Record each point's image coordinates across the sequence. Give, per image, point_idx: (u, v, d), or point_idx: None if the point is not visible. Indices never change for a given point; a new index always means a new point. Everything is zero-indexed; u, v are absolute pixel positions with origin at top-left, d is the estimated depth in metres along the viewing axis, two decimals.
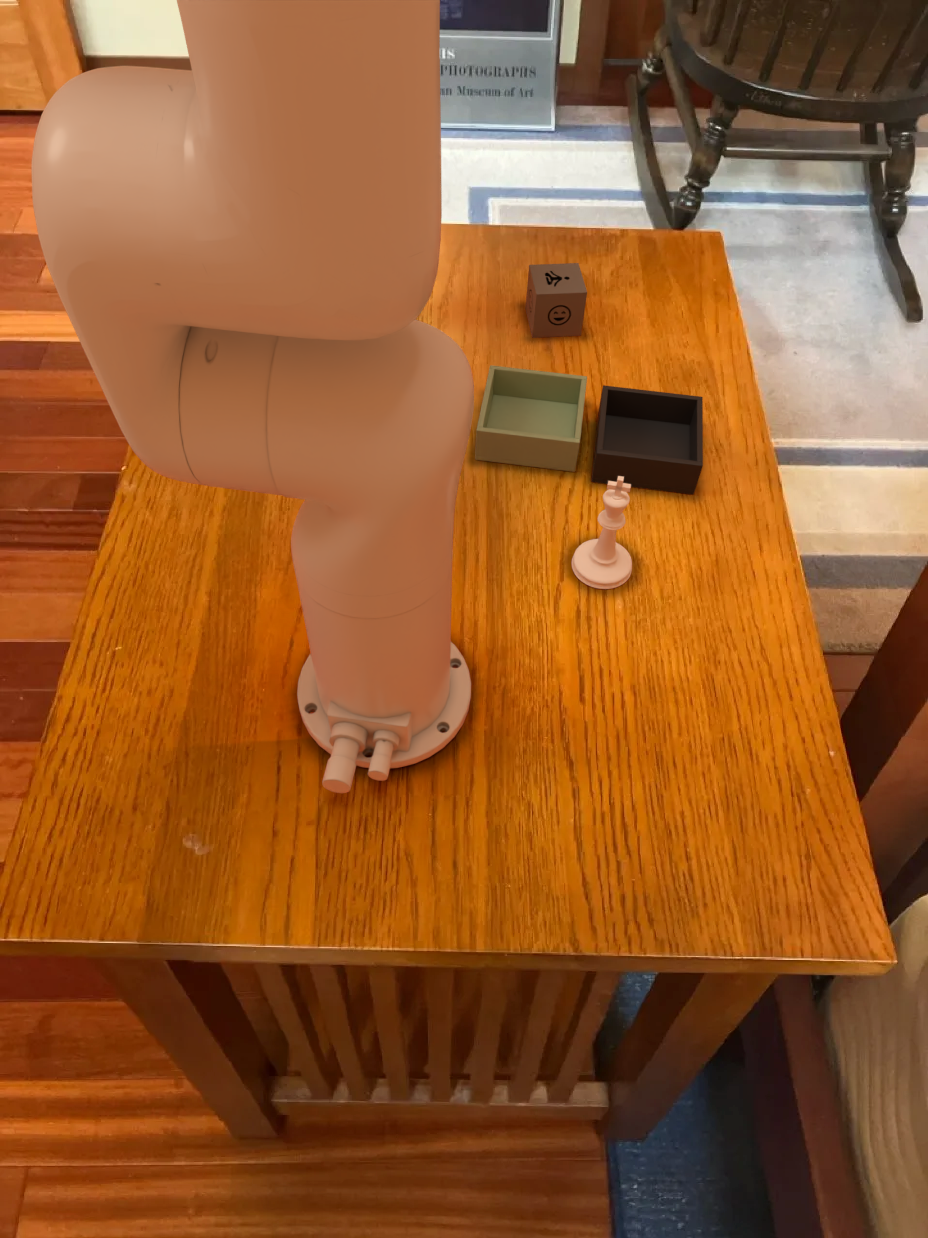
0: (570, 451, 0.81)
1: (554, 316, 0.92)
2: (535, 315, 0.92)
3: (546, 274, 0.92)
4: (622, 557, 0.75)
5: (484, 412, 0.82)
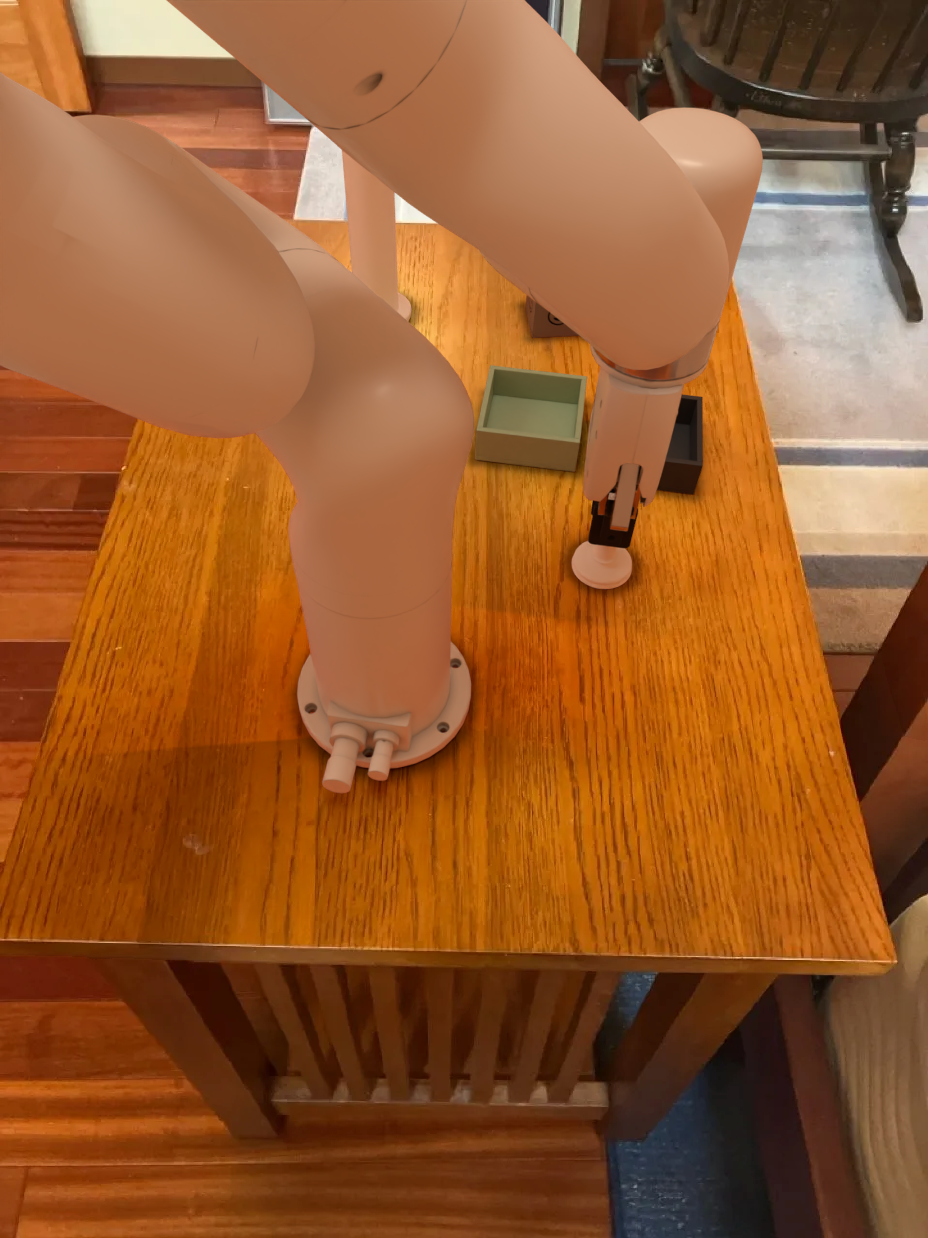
0: (570, 451, 0.81)
1: (554, 316, 0.92)
2: (535, 315, 0.92)
3: None
4: (622, 557, 0.75)
5: (484, 412, 0.82)
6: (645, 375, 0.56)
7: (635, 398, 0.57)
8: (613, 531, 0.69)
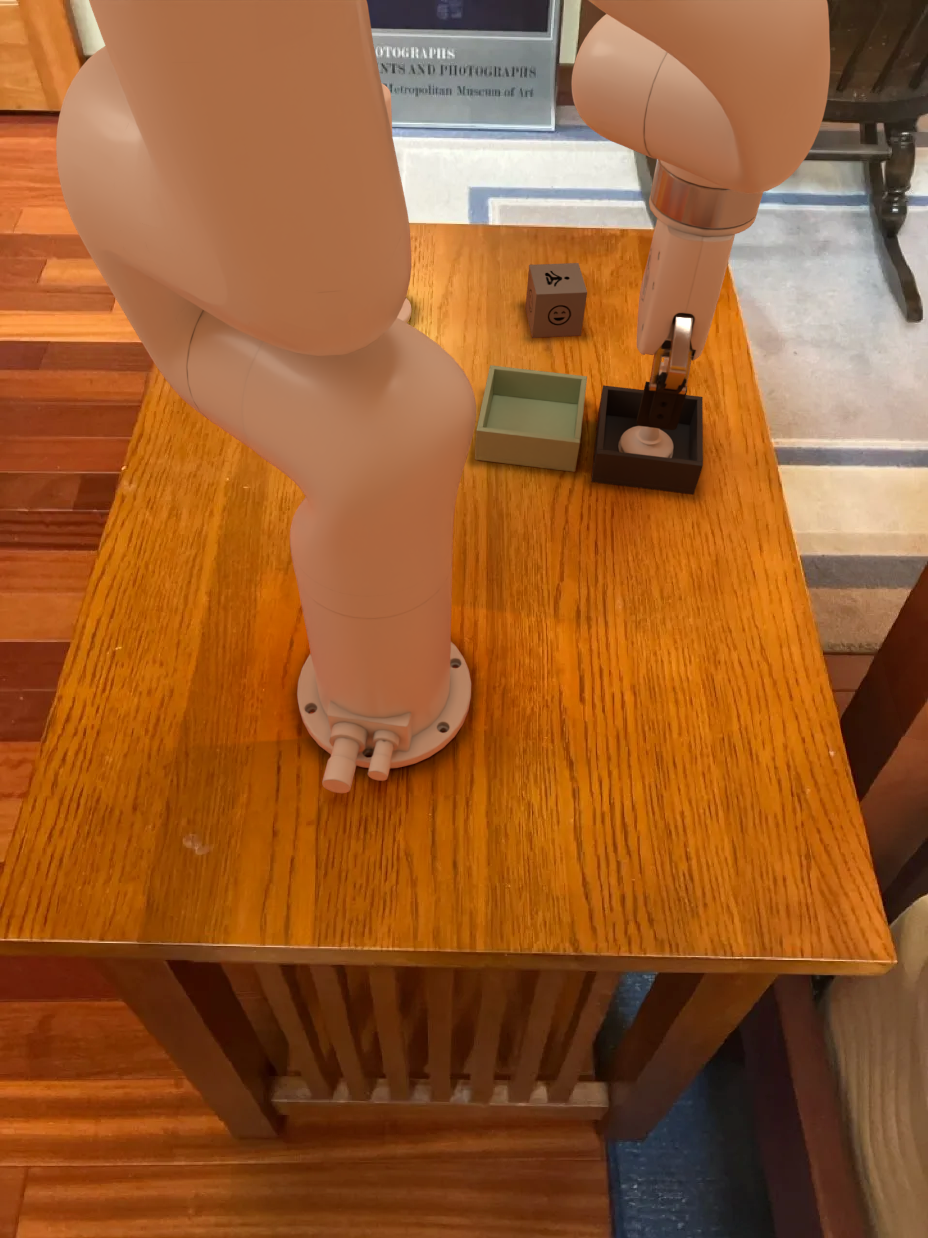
0: (570, 451, 0.81)
1: (554, 316, 0.92)
2: (535, 315, 0.92)
3: (546, 274, 0.92)
4: (664, 440, 0.83)
5: (484, 412, 0.82)
6: (701, 223, 0.62)
7: (691, 245, 0.63)
8: (663, 409, 0.72)
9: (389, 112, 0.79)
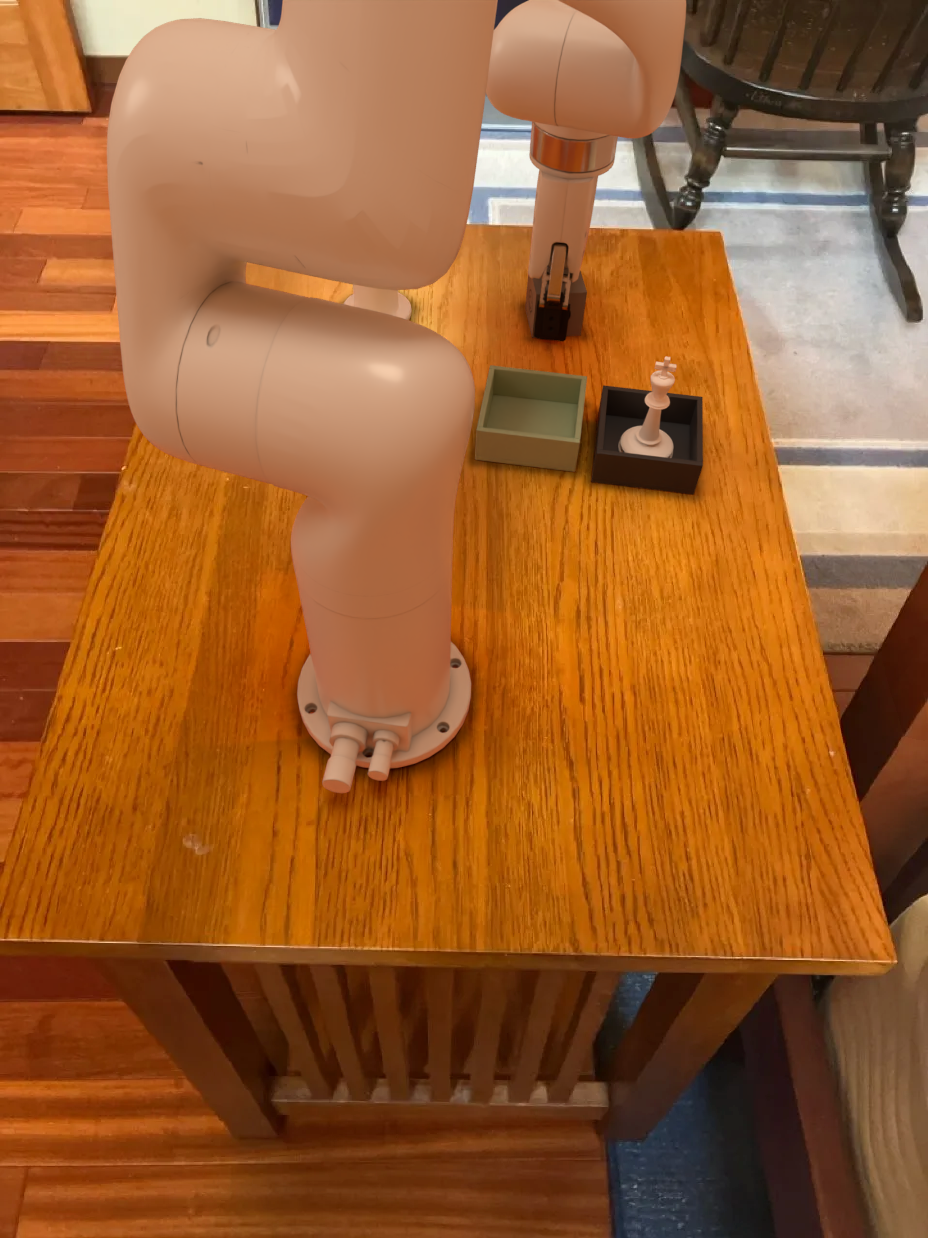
0: (570, 451, 0.81)
1: None
2: (535, 315, 0.92)
3: None
4: (664, 440, 0.83)
5: (484, 412, 0.82)
6: (566, 168, 0.79)
7: (559, 186, 0.80)
8: (552, 322, 0.91)
9: None
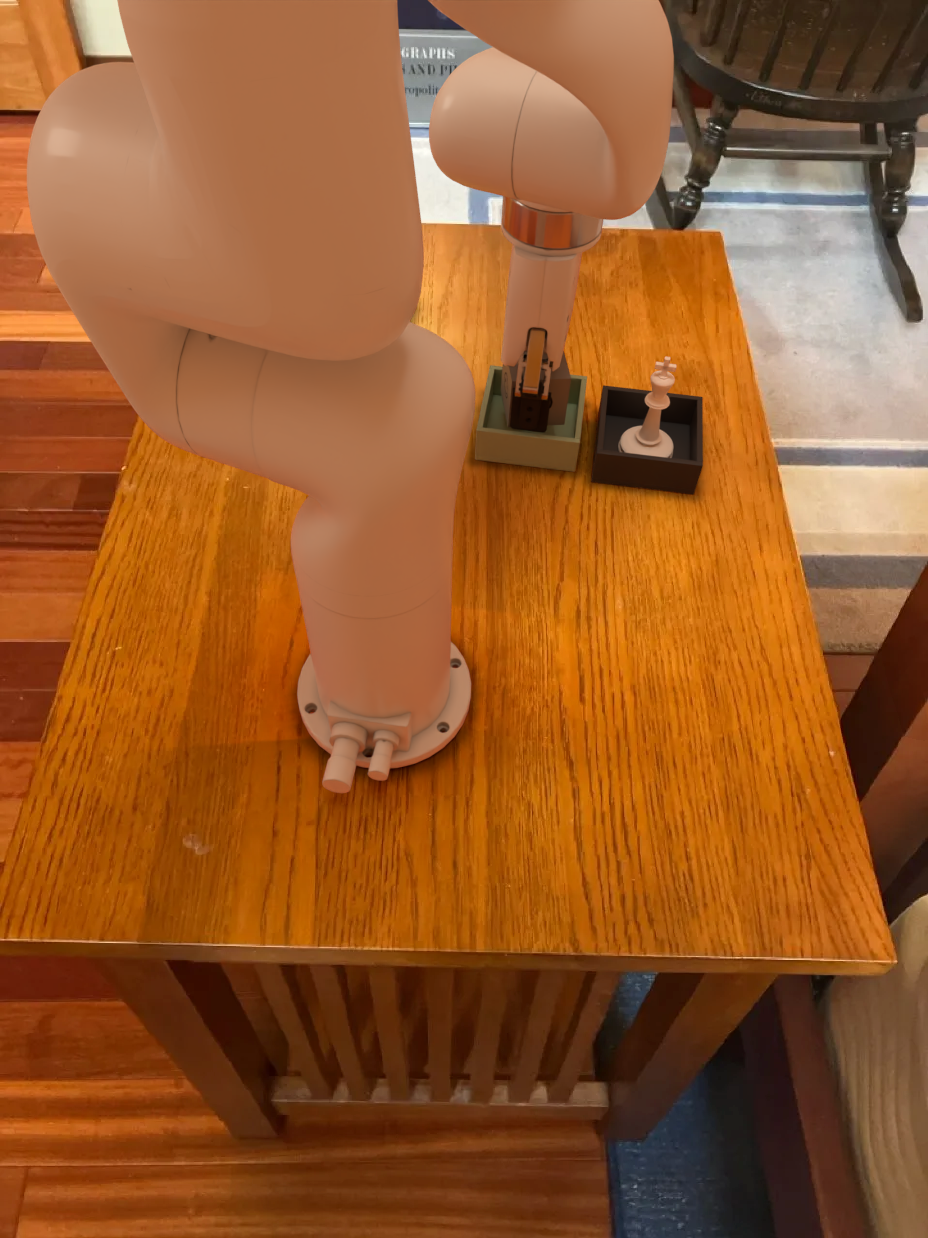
0: (570, 451, 0.81)
1: None
2: (511, 403, 0.79)
3: (524, 355, 0.80)
4: (664, 440, 0.83)
5: (484, 412, 0.82)
6: (543, 244, 0.66)
7: (536, 264, 0.67)
8: (530, 413, 0.78)
9: None
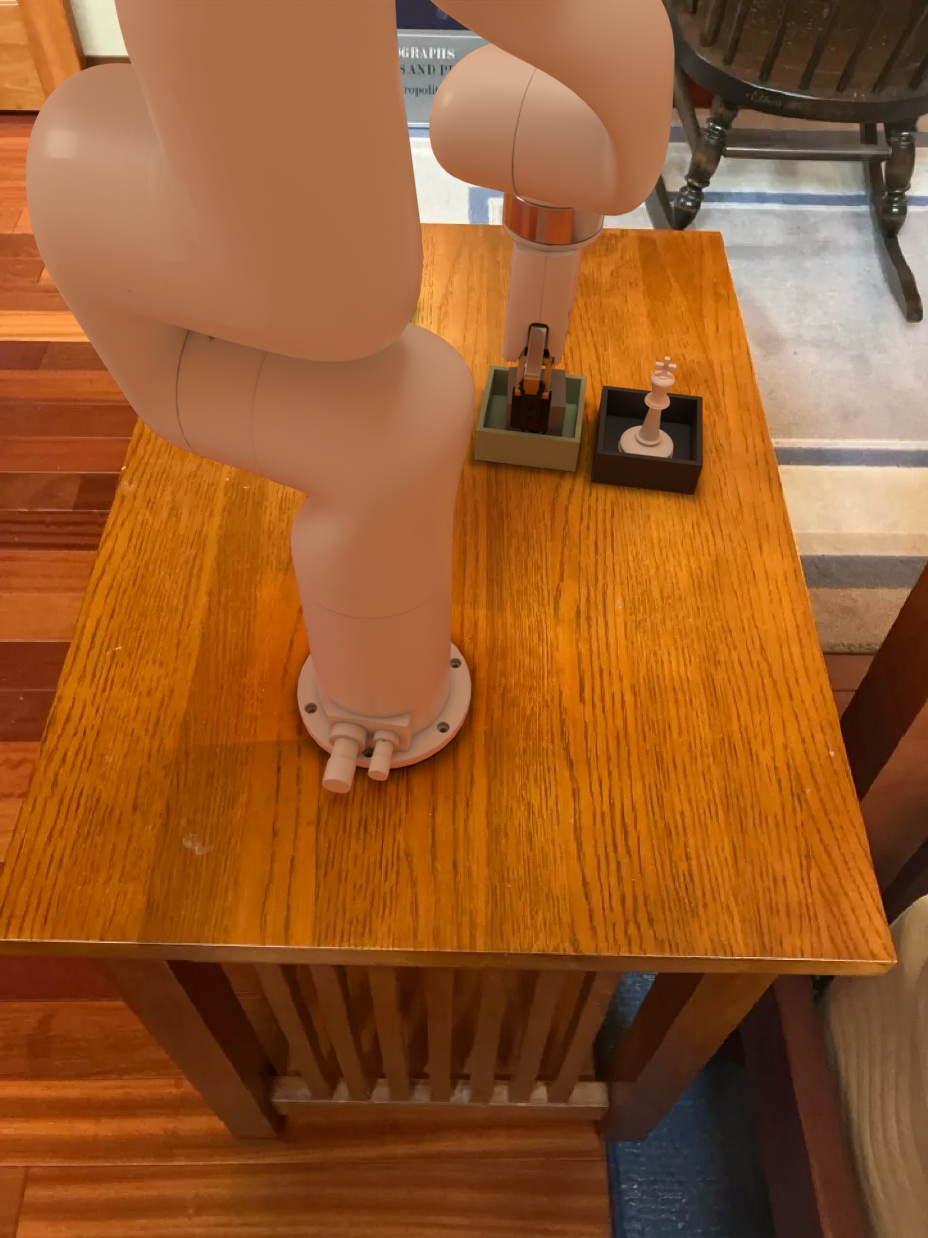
0: (570, 451, 0.81)
1: None
2: (507, 425, 0.81)
3: None
4: (664, 440, 0.83)
5: (484, 412, 0.82)
6: (544, 239, 0.66)
7: (537, 260, 0.67)
8: (530, 412, 0.76)
9: None
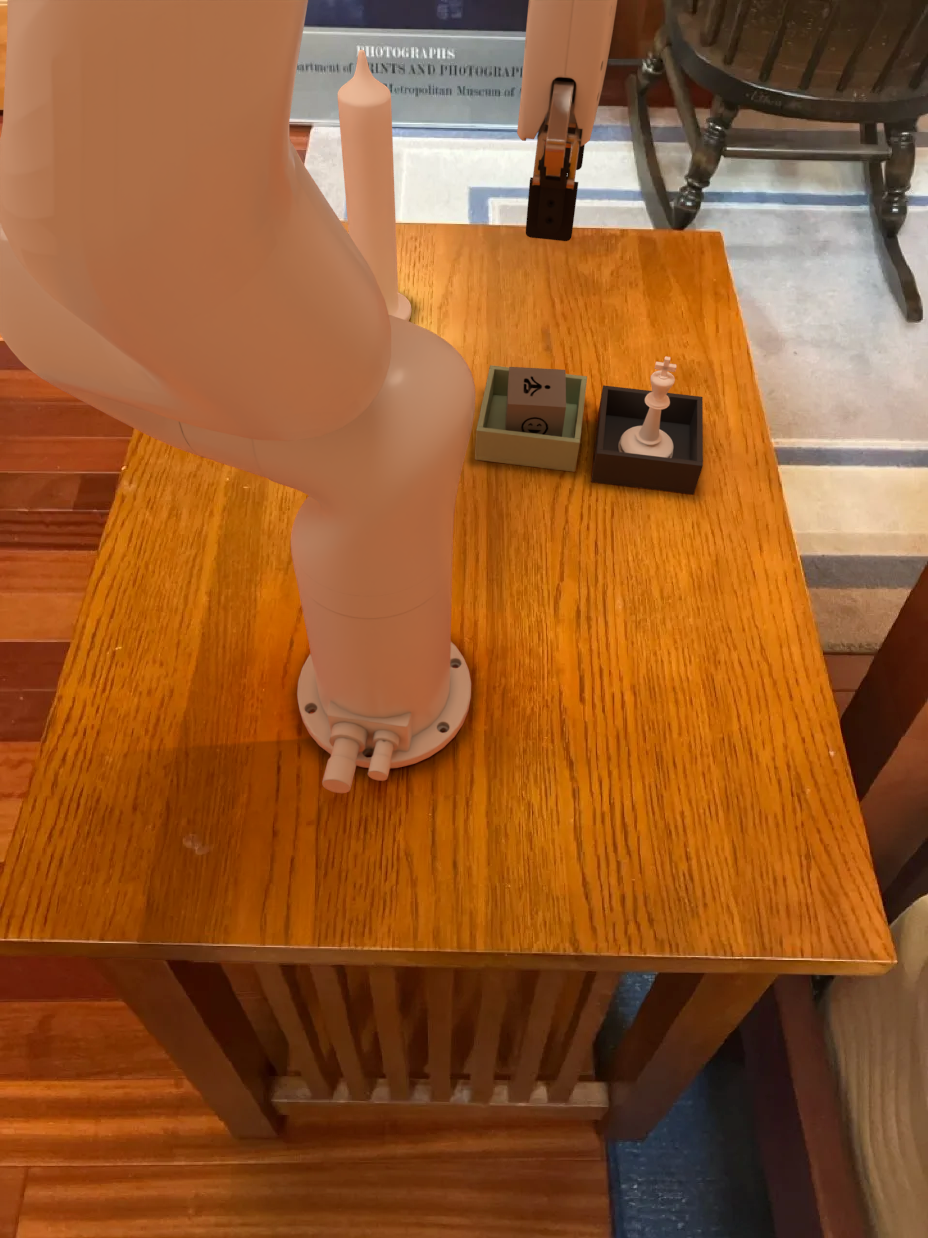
0: (570, 451, 0.81)
1: (529, 428, 0.82)
2: (507, 425, 0.81)
3: (526, 380, 0.82)
4: (664, 440, 0.83)
5: (484, 412, 0.82)
6: None
7: None
8: (551, 210, 0.62)
9: (389, 112, 0.79)
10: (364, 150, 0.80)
